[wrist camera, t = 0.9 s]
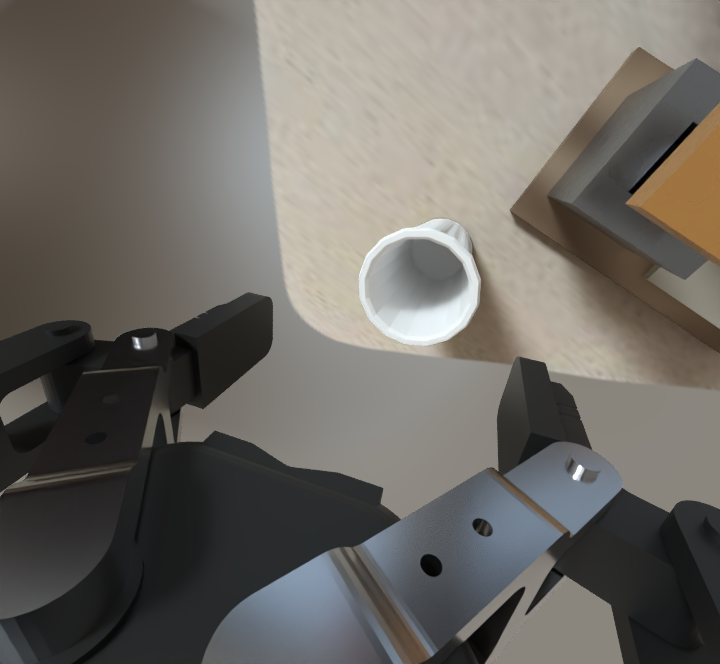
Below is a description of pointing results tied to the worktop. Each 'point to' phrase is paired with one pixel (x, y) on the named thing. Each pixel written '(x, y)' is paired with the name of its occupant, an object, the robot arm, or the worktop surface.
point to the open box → (640, 163)
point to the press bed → (635, 274)
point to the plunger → (686, 189)
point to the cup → (421, 283)
